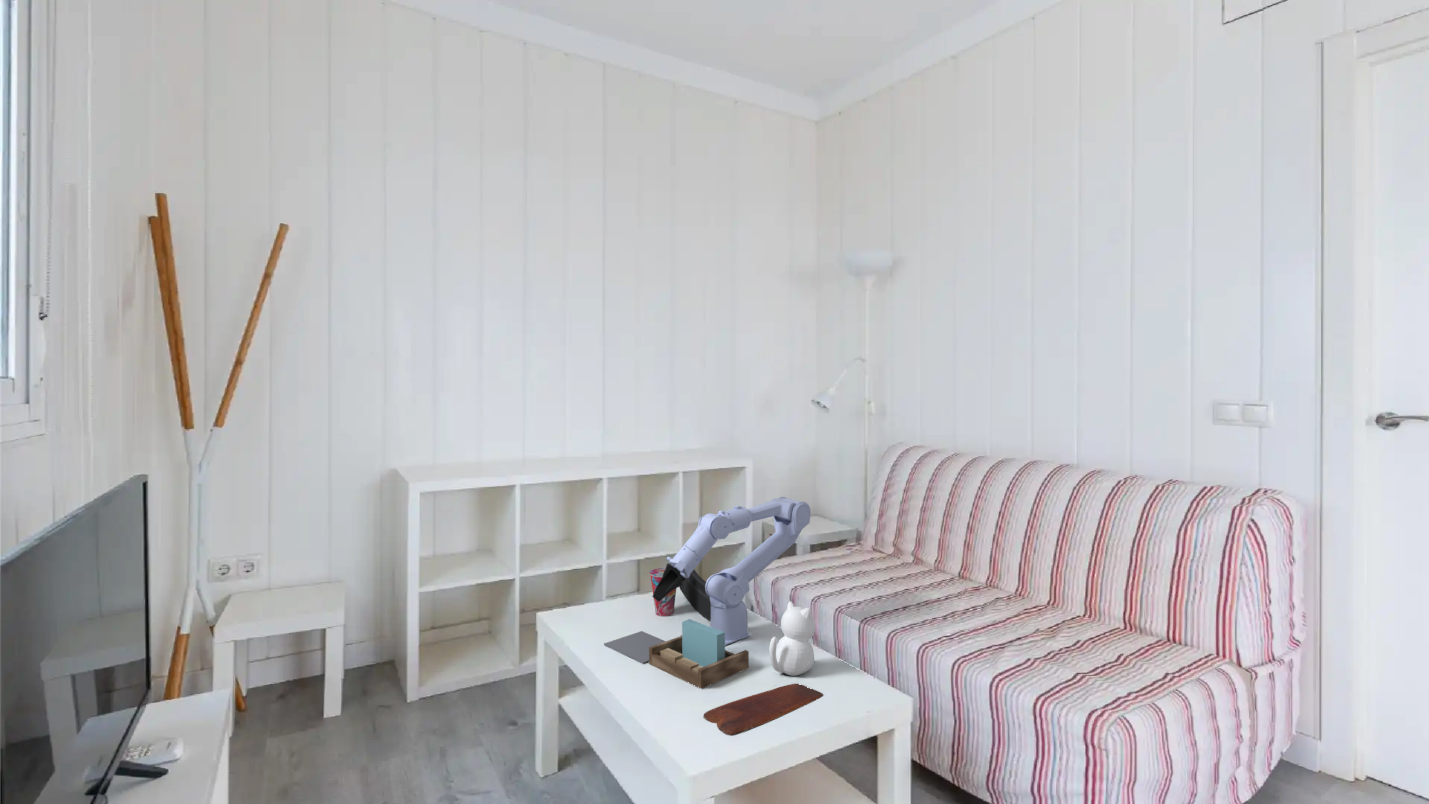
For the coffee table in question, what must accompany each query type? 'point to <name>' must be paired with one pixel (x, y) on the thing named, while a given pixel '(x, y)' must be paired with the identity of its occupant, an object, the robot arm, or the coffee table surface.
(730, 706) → the wooden tablet
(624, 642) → the mat
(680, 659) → the offcuts
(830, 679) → the coffee table surface
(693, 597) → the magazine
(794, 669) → the cat figurine
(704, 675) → the rack
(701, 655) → the teal rectangular block
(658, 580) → the cup
